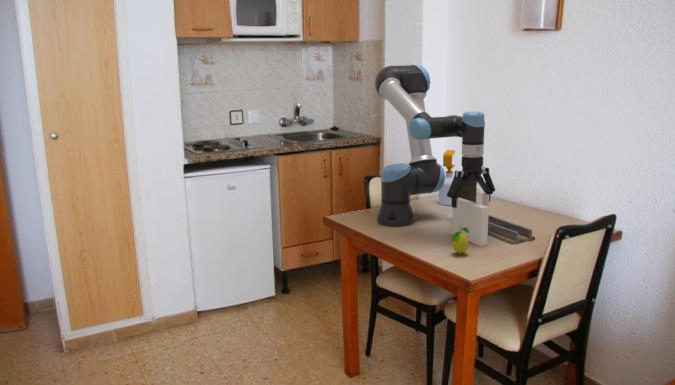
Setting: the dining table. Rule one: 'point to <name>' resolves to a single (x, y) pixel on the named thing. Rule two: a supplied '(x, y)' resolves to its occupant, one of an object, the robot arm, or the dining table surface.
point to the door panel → (472, 221)
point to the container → (469, 192)
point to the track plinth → (508, 231)
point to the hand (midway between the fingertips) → (470, 213)
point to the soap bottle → (447, 178)
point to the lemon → (460, 241)
